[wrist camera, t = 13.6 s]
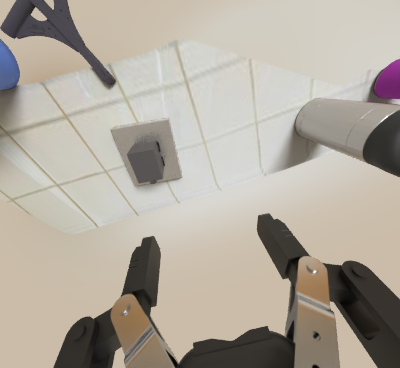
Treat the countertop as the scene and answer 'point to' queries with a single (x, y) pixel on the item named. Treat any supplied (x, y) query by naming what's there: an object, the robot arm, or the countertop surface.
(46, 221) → the countertop surface
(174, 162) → the socket plate
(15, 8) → the bracket
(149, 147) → the plug
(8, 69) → the blue detergent bottle
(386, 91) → the beverage can
